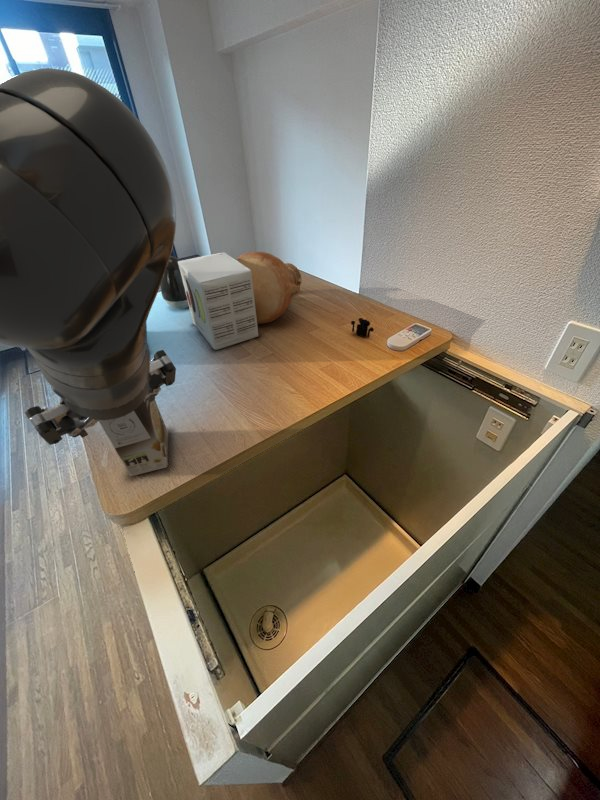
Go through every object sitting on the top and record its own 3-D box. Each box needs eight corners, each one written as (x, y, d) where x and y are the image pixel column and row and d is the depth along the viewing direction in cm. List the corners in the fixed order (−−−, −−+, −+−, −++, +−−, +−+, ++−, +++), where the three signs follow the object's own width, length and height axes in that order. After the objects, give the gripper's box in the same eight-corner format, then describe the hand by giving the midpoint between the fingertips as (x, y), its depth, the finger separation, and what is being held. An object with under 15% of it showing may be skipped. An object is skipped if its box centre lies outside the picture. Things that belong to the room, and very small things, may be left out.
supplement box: (192, 324, 95) (175, 260, 83) (234, 312, 100) (224, 251, 88) (214, 351, 84) (199, 282, 72) (260, 336, 89) (252, 269, 77)
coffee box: (169, 467, 57) (137, 398, 46) (130, 477, 55) (88, 407, 45) (168, 431, 63) (141, 362, 53) (133, 438, 62) (97, 370, 51)
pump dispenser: (158, 308, 104) (142, 259, 94) (182, 296, 111) (169, 249, 101) (181, 315, 100) (168, 264, 90) (204, 302, 107) (194, 254, 97)
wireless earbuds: (348, 332, 91) (350, 316, 87) (353, 329, 92) (355, 312, 89) (370, 341, 87) (373, 324, 84) (375, 337, 89) (378, 320, 85)
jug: (199, 284, 88) (248, 262, 111) (242, 343, 93) (279, 309, 117) (250, 240, 77) (292, 225, 100) (295, 309, 83) (324, 280, 106)
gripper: (154, 300, 31) (151, 363, 45) (-28, 365, 24) (36, 416, 38) (199, 365, 31) (182, 408, 45) (30, 450, 24) (72, 469, 38)
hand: (115, 411), depth 41 cm, fingers open, 8 cm apart
